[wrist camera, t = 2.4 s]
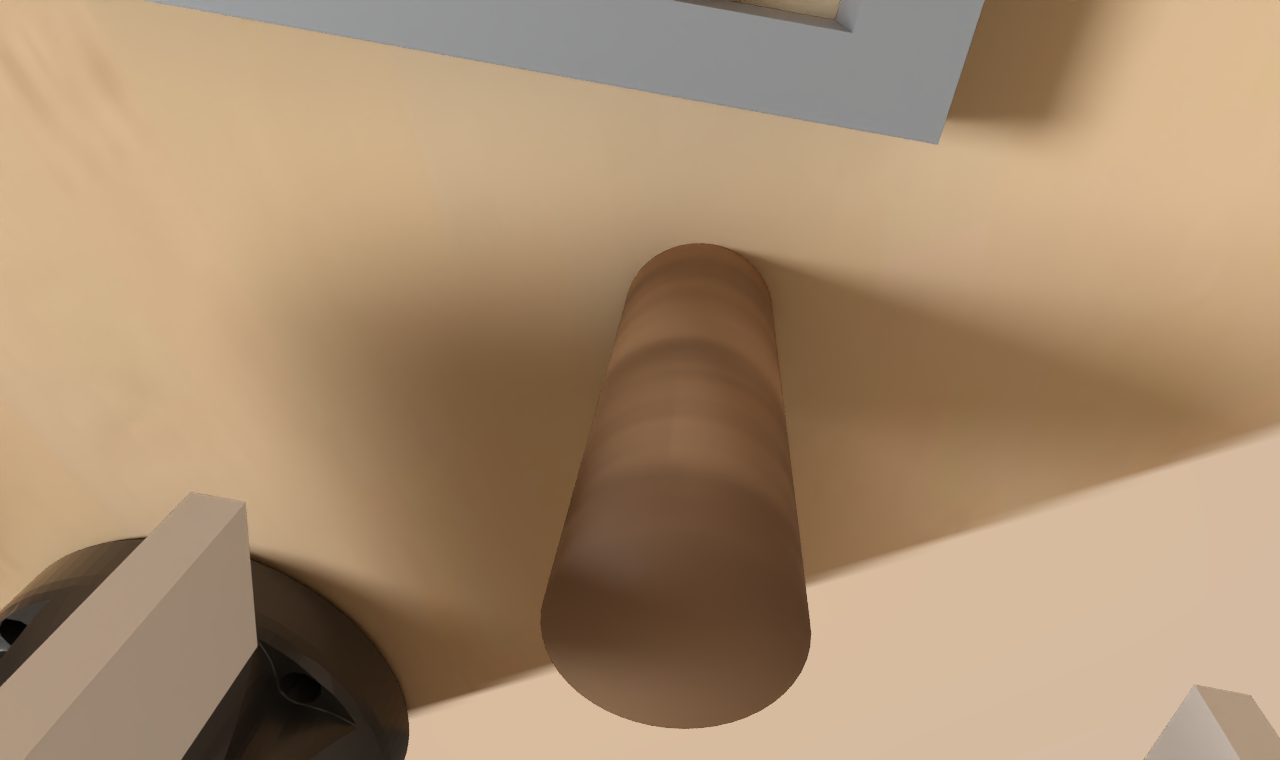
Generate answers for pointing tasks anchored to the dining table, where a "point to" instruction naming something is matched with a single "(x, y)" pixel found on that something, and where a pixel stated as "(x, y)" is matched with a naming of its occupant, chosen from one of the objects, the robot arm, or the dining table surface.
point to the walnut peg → (684, 509)
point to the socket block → (686, 49)
